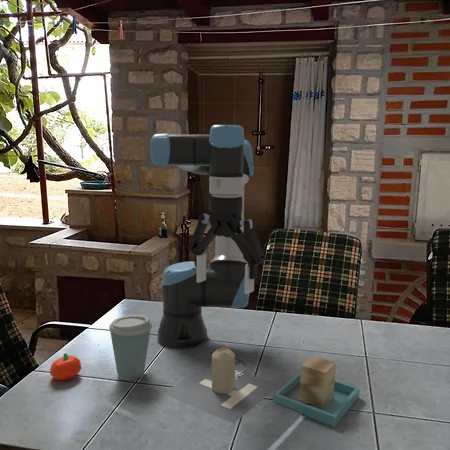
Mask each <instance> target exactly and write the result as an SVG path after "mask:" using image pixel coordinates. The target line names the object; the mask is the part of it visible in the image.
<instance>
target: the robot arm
mask: <svg viewBox="0 0 450 450" xmlns="http://www.w3.org/2000/svg"><path fill="white" fill-rule="evenodd" d="M149 146H150V147H149V148H150V158H151V162H152V164H154V165H156V166H163V167H164V166H165V167H167V166H176V167H178V168H179V169H181V171H185V172H190V173H193V174H196V175H197V174H198V175H204V176H209V179H208V181H209V183H208V184H209V189H208V190H209V191H208V192H209V195H210V196H209V198H208V211H209V213H210V214H209V213H208V212H206V213H200V214H198V218H197V225H196V227H195V228H194V231H193V234H192V236H191V238H190V241H189V243H188V246H187V251H189V252H192V253H193V254H194V261H183V262H178V263H173V264H171V265H169V266H167V267H165V268H164V271H163V276H162V277H163V278H162V283H161V285H162V309H163V311H162V312H163V313H162V317H161V321H160V324H159V327H158V330H157V342H158V343H159V344H160V345H162V346H165V347H168V348H170V349H171V348H172V349H191V348H196V347H198V346H200V345H201V344H204V343H205V342H207V340H208V330H207V328H206V324H205V321H204V318H203V315H202V308H222V309H223V308H227V309H234V308H237V309H239V308H245V307H246V306H247V305H248V304H249V298H250V294H251V293H253V292H255V279H257V278H258V266H259V264H262V263H265V262H266V260H267V258H266V256H265V253H264V250H263V248H262V246H261V242H260V240H259V238H258V234H257V231H256V229H255V220H254V219H253V218H250V219H245V216H244V215H245V185H246V184H247V183H248V182H249V180H250V177H251V176H254V173H255V172H254V171H255V170H254V169H255V168H254V157H253V155H254V154H253V148H252V144H251V143H250V141H249V140H247V139H245V131H244V127H243V126H241V125H238V124H214V125H212V126H211V127H210V130H209V134H201V133H200V134H198V133H197V134H189V133H187V134H186V133H185V134H184V133H182V134H181V133H180V134H179V133H155V134H153V135H152V137H151V139H150V145H149ZM208 224H210V228H209V229H208V230H207V228H208ZM206 230H207V232H206ZM205 232H206V234H205ZM204 234H205V235H204ZM214 239H215V244H214V245H215V250H214V257H213V259H211V260H210V261H209V267H208V268H207V253H205V251H206V249H207V248H208V247H209V245H210V244H212V242H213V240H214Z"/></svg>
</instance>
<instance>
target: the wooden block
mask: <svg viewBox="0 0 450 450" xmlns="http://www.w3.org/2000/svg"><path fill="white" fill-rule="evenodd" d="M336 365H337V364H336V362H334V361H332V360H328V359H324V358H323V357H322V358H321V357H318V356H314V355H311V356H310V357H309V358H307V359H306V360H305V361H304V362H302V363H301V365H300V371H301V373H300V382H299V395H298V399H299V401H302V402H304V403H308V404H310V405H311V406H314V407H317V408H320V409H322V410H324V408H325V407H326V406H327V405H328V404H329V403H330V402H331V401H332V400H333V398H334V384H335V380H336V367H337V366H336Z"/></svg>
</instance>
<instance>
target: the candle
mask: <svg viewBox="0 0 450 450" xmlns="http://www.w3.org/2000/svg"><path fill="white" fill-rule="evenodd" d="M211 364H212V390H213V391H214V392H216V393H219V394H228V393H231V392H232V391H233V390H234V386H235V370H236V354H235V353H234V352H233V351H232V350H231V349H230V348H229V347H225V346H224V347H220V348H217V349H216V350H215V351H214V352H213V353H212V355H211Z"/></svg>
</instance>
